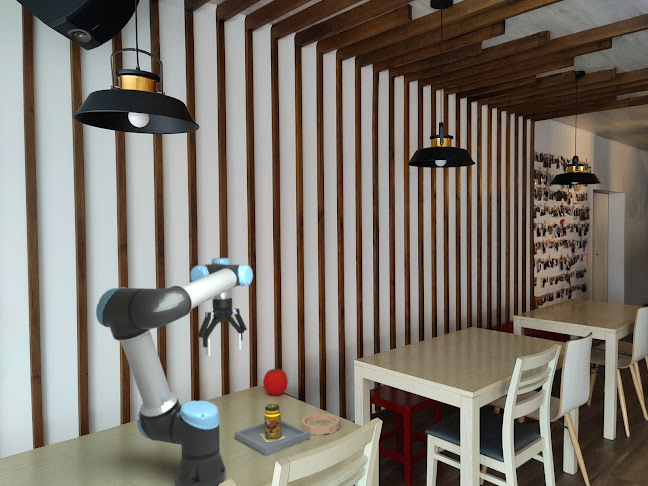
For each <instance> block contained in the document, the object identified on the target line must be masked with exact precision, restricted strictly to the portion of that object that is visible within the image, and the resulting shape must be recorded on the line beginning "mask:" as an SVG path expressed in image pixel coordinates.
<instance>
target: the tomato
mask: <svg viewBox="0 0 648 486" xmlns="http://www.w3.org/2000/svg"><path fill="white" fill-rule="evenodd" d="M262 385H263V388H264V389H265V392H266V393H267V394H268V395H270V396H279V395H282V394H284V393H285V391H286V390H287V388H288V376H287V373H286V372H285V371H284V370H283V369H281V368H272V369H268V371H266V373H265V374H264V376H263V381H262Z"/></svg>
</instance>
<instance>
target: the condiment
mask: <svg viewBox="0 0 648 486" xmlns="http://www.w3.org/2000/svg"><path fill="white" fill-rule="evenodd" d="M264 409H265V411H264V415H263V416H264V419H263V420H264V423H265V433H264V434H259V435H261V436H262V437H263V439H264V440H265V441H266V442H272V441H277V440H281V439H284V438H285V437H284V436H283V435H282V434H281V420H282V419H281V416H282V414H281V411H280V405H279V404H278V403H269V404H267V405H265V408H264Z"/></svg>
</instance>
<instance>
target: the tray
mask: <svg viewBox="0 0 648 486" xmlns="http://www.w3.org/2000/svg"><path fill="white" fill-rule="evenodd" d="M264 433H265V422H263V423H262V422H261V423H259V424H256V425H253V426H250V427H247V428H245V429H241V430H238V431H235V432H234V439H235V440H236V441H238V442H239V443H240V444H243V445H245V446H247V448H248V447H249V448H250V449H252V450H254V451H256V452H257V451H258V452H257V453H259V452H260V453H259V454H261V455H263V456H265V457H267V455H268V456H271V455H273V454H275V453H278V452H280V451H282V449H283V450H285V449H287V447H288V448H290V446H291V447H293V446H295V444H296V445H297V443H298V444H300V443H299V442H301V443H303V442H305V441H304V440H306V441H308V440H307V439H309V438H310V434H309V432H307V431H305V430H303V429H302V428H300V427H298V426H295V425H294V424H291V423H288V422H286V421H284V420H282V419H281V434H282V435H283V436H284V437H285V438H284V439H281V440H277V441H272V442H266V441H265V440H264V439H263V437H262V436H261V435H259V434H264ZM309 440H310V439H309ZM302 441H303V442H302ZM292 445H293V446H292ZM284 448H285V449H284Z"/></svg>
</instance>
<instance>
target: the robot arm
mask: <svg viewBox="0 0 648 486" xmlns="http://www.w3.org/2000/svg"><path fill="white" fill-rule="evenodd" d="M189 277H190V280H191V282H189V283H186V284H184V285H182V286H181V285H174V286H170V287H165V288H140V287H139V288H137V287H135V288H134V287H133V288H132V287H131V288H130V287H123V286H122V287H115V288H114V287H113V288H111V289H108V290H106V291H105V292H104V293H103V294H102V295H101V296H100V298H99V300H98V303H97V304H96V309H95V314H96V319H97V320H96V321H98V323H99V324H100V325H101V326H103V327H104V328H105V327H106V328H109V330H110V331H111V334H112V335H111V336H112V337H113V339H114V340H115V341H119V342H120V343H121V345H122V348H123V351H124V354H125V356H126V357H125V358H126V360H127V363H128V365H129V368H130V371H131V373H132V376H133V379H134V382H135V384H136V387H137V390H138V393H139V396H140V399H141V401H142V404H141V406H140V410H139V412H138V415H137V417H138V419H137V420H136V422H137V423H136V424H137V428H138V431H139V432H140V434H141V435H142V436H143V437H144V438H146V439H149V440H151V441H153V442H154V441H155V442H156V441H157V442H163V443H170V444H176V445H180V446H181V447H180V448H181V458H180V462H179V466H178V469H177V473H176V478H175V481H176V486H217V485H218V484H220V483H221V482H222V483H224V481H225V480H226V478H227V472H226V471H227V470H226V465H225V463H224V460H223V458H222V454H221V451H220V450H221V449H220V445H221V444H220V441H221V440H220V422H221V420H220V414H219V413H220V412H219V409H218V407H217V406H216V405H215V403H212V402H209V401H207V400H206V401H205V400H198V401H197V400H190V401H187V402H184V403H183V404H181V403H180V402H179V398H178V395H177V394H176V393H175V392H174V391H171V390H170V387H169V384H168V380H167V378H166V375H165V372H164V369H163V365H162V364H161V360H160V357H159V355H158V350H157V348H156V345H155V342H154V339H153V336H152V333H151V330H152V329H153V330H154V329H156V328H160V327H163V326H166V325H169V324H171V323H173V322H176V321H178V320H180V319H181V318H185V316H187V315H189V314H190V313H191V311H192V309H194V308H196V307H198V306H200V305H202V304H204V303H206V302H208V301H210V300H211V301H212V312H211V311H205V312H204V313H205V314H204V318H203V322H202V324H201V326H200V329H199V331H198V333H197V337H198V338H200V339H202V347H203V348H204V356H207V357H210V356H211V338H210V335H212V333H213V331H214V329H215V328H216V326H217V325H219V323H224V322H229V323H230V325H231V326H232V327H233V328H234V330H235V331H236V332H235V350H238V351H241V350H242V341H243V339H244V338H243V333H245V331H247V329H248V328H247V326H246V324H245V321H244V319H243V318H242V315H241V313H240V312H241V311H240V308H236V307H234V308H233V298H232V296H233V288H235V287H245V286H249V285H251V283H252V281H253V278H254V274H253V269H252V268H251V266H249V265H248V264H242V263H240V264H232V259H231V258H230V257H214V258H212V259H211V262H210V263H209V264H199V265H195V266H193V267H192V269H191V270H190V272H189ZM232 315H234V317H233V316H232ZM212 317H213V318H212ZM234 318H235V319H234ZM211 319H212V320H211ZM180 404H181V405H180ZM222 483H221V484H222ZM221 484H220V485H221ZM218 486H219V485H218Z"/></svg>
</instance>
